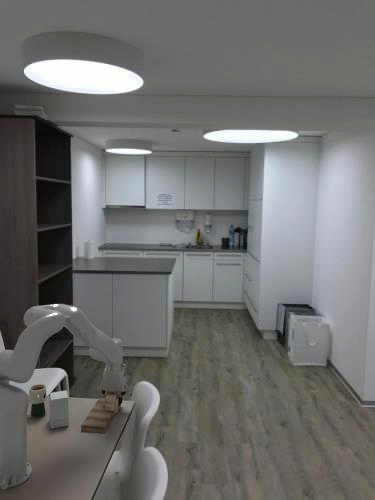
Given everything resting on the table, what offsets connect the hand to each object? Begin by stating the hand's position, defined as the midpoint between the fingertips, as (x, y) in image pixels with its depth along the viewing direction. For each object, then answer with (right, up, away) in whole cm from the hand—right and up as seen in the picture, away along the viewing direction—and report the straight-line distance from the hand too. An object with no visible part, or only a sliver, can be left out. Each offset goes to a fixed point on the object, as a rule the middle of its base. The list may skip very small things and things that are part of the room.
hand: (113, 403), depth 180 cm
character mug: (-33, -3, -5) cm, 33 cm away
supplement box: (-22, -4, -11) cm, 24 cm away
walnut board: (-5, -4, -5) cm, 8 cm away
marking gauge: (0, -2, 0) cm, 2 cm away
